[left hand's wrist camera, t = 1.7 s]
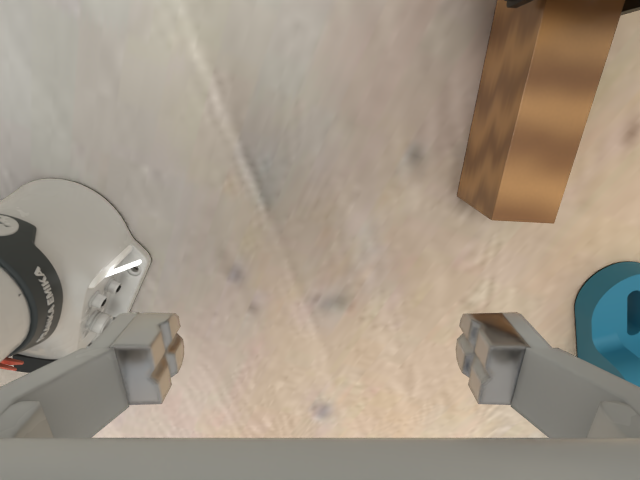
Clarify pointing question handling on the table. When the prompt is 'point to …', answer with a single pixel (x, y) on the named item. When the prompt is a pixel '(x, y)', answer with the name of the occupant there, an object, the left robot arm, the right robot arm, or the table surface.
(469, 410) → the table surface
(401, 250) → the table surface
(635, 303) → the camera mount
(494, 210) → the box
